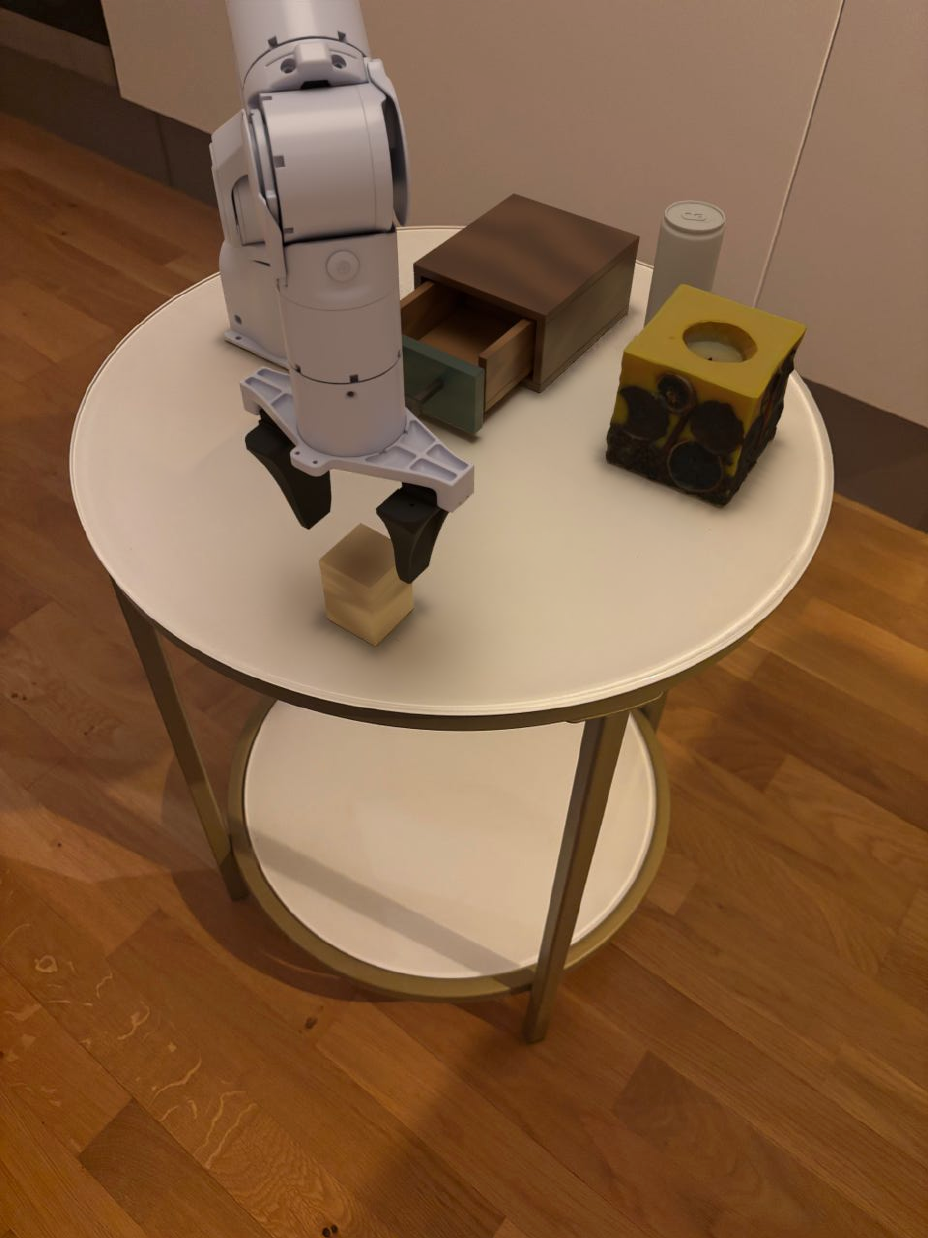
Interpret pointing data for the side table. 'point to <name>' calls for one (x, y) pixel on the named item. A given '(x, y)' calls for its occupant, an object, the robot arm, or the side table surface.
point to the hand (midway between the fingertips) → (364, 544)
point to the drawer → (461, 353)
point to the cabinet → (541, 275)
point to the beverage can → (685, 251)
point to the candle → (702, 393)
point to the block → (364, 585)
